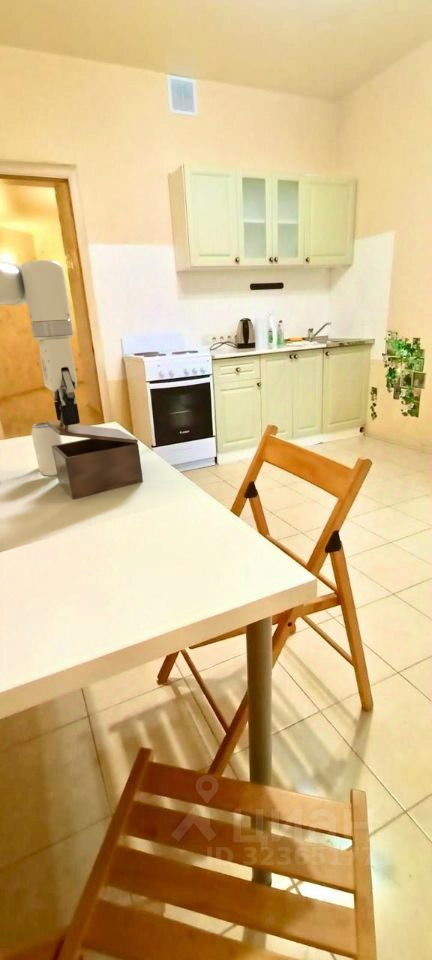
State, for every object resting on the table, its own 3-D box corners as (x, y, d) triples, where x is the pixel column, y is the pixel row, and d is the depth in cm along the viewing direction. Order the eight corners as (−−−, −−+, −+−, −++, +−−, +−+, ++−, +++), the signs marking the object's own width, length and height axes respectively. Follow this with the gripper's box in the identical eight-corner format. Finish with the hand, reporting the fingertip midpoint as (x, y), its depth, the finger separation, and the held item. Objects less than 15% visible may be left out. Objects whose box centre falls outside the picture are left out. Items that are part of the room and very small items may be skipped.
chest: (72, 499, 92) (65, 459, 89) (59, 482, 103) (51, 445, 100) (143, 481, 100) (138, 443, 96) (123, 467, 110) (118, 432, 107)
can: (49, 467, 114) (39, 421, 109) (72, 467, 112) (63, 421, 108) (34, 476, 108) (24, 428, 104) (59, 476, 106) (49, 427, 102)
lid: (59, 435, 87) (62, 407, 86) (46, 424, 98) (49, 399, 97) (137, 443, 96) (141, 418, 95) (117, 432, 107) (121, 410, 106)
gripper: (25, 331, 93) (42, 417, 99) (41, 332, 79) (59, 432, 85) (62, 329, 96) (76, 412, 103) (83, 329, 82) (98, 426, 89)
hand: (68, 420), depth 94 cm, fingers closed on lid, 5 cm apart
